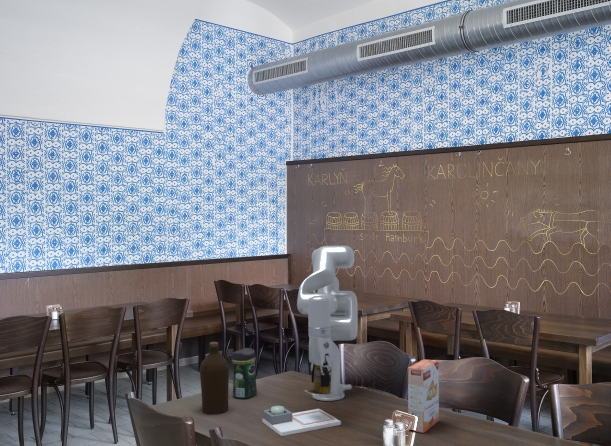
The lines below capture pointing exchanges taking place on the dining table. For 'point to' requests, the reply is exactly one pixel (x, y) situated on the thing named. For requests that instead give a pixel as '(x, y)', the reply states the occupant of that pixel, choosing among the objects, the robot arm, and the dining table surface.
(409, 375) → the cracker box
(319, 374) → the condiment
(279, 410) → the button
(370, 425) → the dining table surface
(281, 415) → the board
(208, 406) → the olive oil
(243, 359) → the coffee jar
